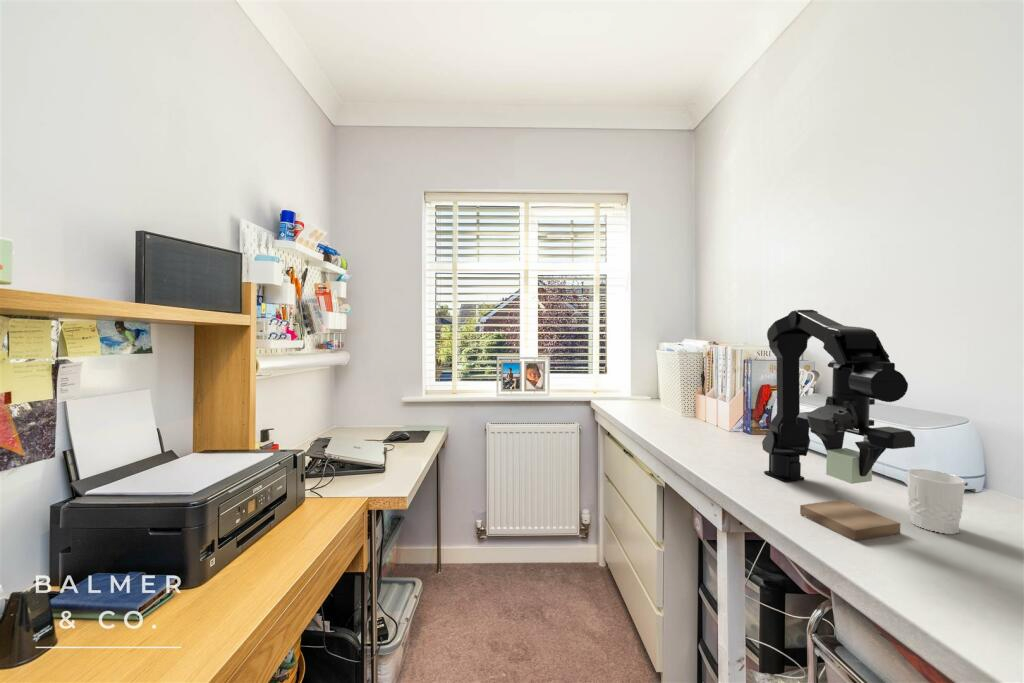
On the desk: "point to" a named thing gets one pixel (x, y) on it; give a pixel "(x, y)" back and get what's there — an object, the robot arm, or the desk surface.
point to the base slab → (850, 519)
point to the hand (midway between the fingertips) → (848, 471)
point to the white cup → (935, 500)
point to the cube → (845, 466)
